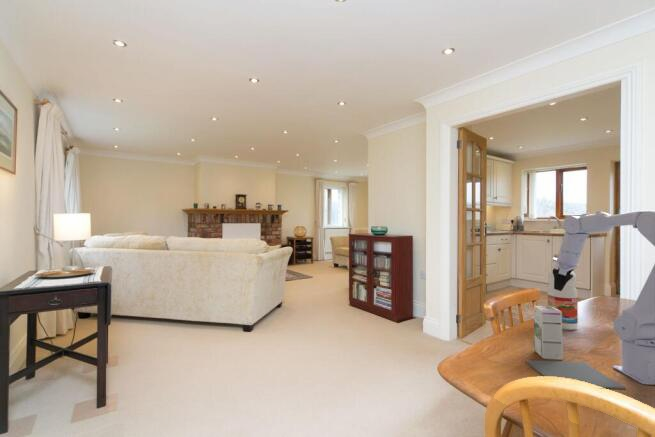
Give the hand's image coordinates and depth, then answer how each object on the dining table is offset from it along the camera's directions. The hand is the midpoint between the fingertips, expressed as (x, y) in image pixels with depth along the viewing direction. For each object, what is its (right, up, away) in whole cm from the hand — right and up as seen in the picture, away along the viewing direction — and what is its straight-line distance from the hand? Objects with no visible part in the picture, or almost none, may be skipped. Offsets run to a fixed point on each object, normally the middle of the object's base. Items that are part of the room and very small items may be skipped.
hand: (559, 285), depth 112 cm
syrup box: (-14, -18, -15) cm, 28 cm away
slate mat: (-16, -18, -26) cm, 36 cm away
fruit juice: (+10, -19, +12) cm, 25 cm away
